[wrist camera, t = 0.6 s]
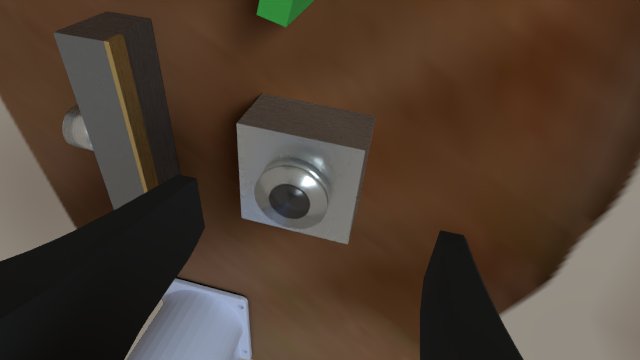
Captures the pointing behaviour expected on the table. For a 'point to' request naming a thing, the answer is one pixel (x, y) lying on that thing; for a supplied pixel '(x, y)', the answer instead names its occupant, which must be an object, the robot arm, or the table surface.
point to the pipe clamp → (282, 10)
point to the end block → (118, 102)
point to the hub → (302, 165)
